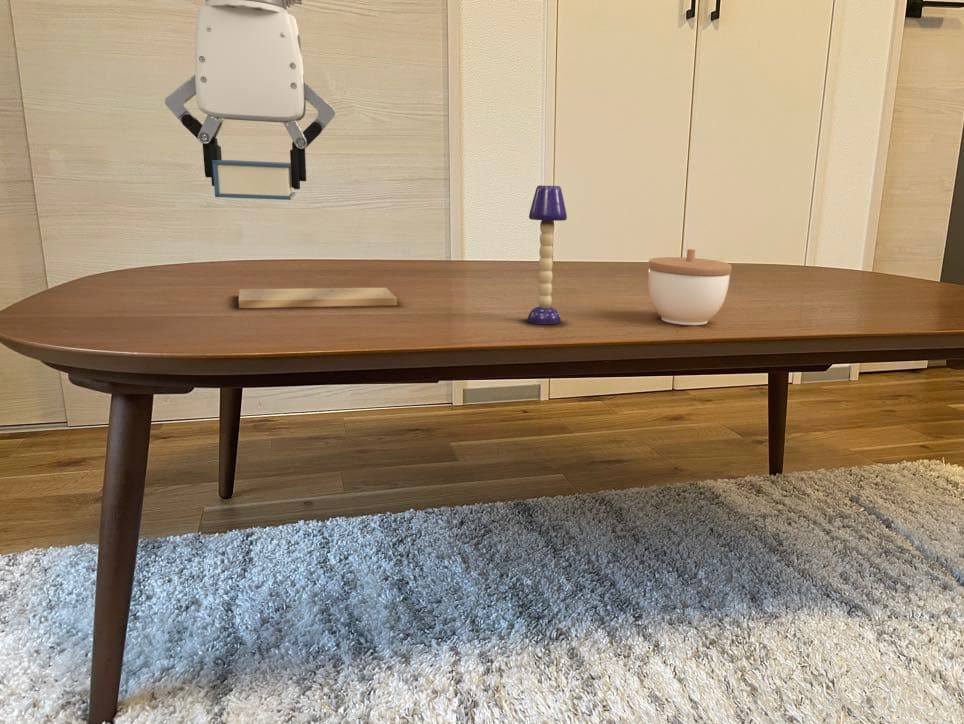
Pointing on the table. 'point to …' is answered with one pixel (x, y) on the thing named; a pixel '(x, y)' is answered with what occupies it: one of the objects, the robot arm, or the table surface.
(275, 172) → the blue rectangular block
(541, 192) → the toy lamp
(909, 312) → the table surface
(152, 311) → the table surface
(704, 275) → the trinket box
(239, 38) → the robot arm
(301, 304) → the birch board
